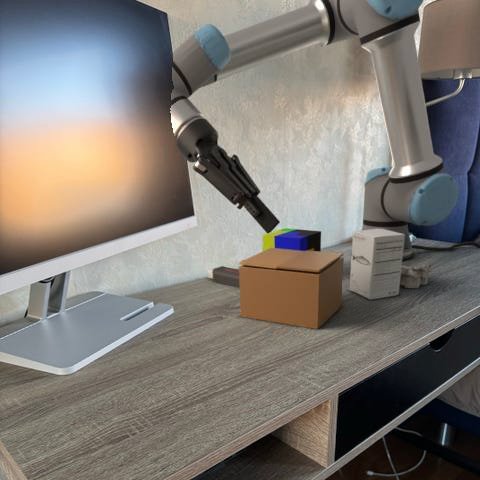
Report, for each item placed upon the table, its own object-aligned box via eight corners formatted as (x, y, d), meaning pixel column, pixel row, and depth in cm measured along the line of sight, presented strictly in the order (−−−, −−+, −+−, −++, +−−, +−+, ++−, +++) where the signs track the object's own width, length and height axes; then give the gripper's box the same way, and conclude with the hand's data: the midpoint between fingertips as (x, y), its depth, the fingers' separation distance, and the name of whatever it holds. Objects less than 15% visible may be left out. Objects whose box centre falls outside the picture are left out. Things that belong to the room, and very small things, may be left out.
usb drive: (242, 288, 99) (241, 276, 98) (205, 279, 107) (204, 268, 106) (257, 282, 103) (256, 271, 102) (220, 274, 110) (219, 264, 109)
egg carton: (432, 283, 97) (434, 265, 95) (412, 290, 93) (414, 271, 91) (390, 274, 105) (392, 257, 103) (370, 280, 101) (371, 262, 99)
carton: (240, 316, 82) (238, 262, 79) (271, 296, 93) (270, 247, 89) (317, 329, 75) (319, 270, 71) (341, 305, 86) (343, 253, 82)
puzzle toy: (299, 282, 102) (299, 238, 98) (263, 276, 107) (262, 234, 104) (320, 272, 109) (321, 231, 105) (285, 267, 115) (285, 228, 111)
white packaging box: (348, 290, 94) (351, 230, 90) (377, 285, 97) (382, 227, 92) (369, 300, 88) (373, 236, 83) (400, 295, 90) (406, 233, 86)
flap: (239, 264, 79) (239, 262, 79) (270, 249, 89) (270, 247, 89) (276, 269, 75) (276, 266, 75) (305, 253, 86) (305, 251, 86)
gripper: (199, 148, 89) (276, 235, 88) (158, 149, 79) (244, 248, 77) (220, 117, 85) (301, 208, 83) (179, 114, 75) (271, 218, 73)
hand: (273, 227), depth 80 cm, fingers closed
